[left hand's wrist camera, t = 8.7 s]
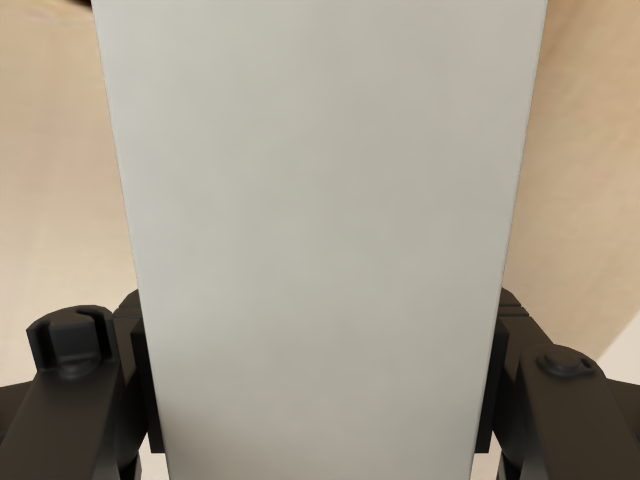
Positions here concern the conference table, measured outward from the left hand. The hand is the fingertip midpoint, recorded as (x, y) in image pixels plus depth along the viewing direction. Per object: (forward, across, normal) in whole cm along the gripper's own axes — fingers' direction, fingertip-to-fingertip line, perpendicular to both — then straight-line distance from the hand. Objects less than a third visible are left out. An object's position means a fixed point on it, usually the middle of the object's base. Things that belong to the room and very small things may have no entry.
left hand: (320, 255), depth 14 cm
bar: (+1, 0, -30) cm, 30 cm away
